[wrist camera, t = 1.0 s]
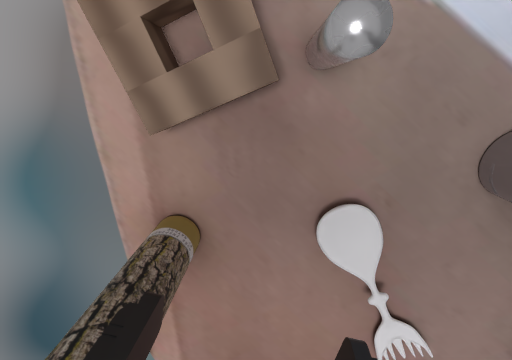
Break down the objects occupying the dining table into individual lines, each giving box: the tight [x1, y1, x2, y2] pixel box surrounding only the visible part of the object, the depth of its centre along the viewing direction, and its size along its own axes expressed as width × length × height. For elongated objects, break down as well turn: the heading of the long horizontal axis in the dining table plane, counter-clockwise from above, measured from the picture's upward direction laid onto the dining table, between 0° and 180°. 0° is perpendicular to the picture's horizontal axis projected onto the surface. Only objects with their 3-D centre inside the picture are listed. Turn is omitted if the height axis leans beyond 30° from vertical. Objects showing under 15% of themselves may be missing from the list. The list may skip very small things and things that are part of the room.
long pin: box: [306, 0, 393, 70], centre depth 23 cm, size 4×4×14 cm
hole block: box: [77, 0, 279, 135], centre depth 28 cm, size 16×16×5 cm
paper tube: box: [45, 216, 200, 360], centre depth 28 cm, size 7×7×25 cm
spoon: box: [316, 204, 433, 360], centre depth 40 cm, size 9×32×4 cm, turn 27°
